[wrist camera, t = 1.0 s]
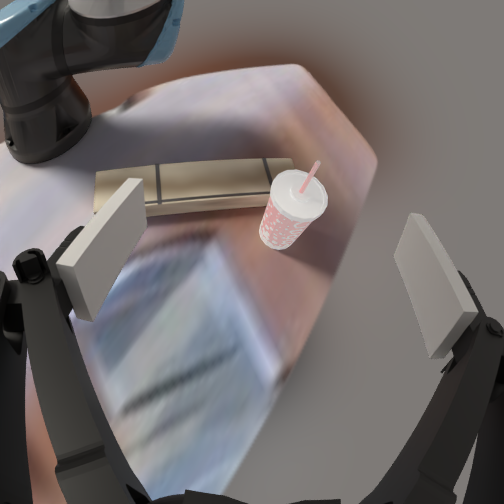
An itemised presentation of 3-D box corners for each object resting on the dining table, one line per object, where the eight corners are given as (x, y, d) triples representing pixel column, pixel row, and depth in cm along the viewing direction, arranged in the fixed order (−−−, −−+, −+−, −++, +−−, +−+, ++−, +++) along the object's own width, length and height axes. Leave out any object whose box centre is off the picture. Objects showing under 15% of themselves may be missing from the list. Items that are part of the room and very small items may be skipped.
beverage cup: (254, 254, 38) (290, 186, 26) (251, 210, 41) (282, 133, 28) (302, 256, 39) (355, 193, 27) (297, 213, 42) (340, 142, 29)
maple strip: (99, 183, 38) (95, 171, 35) (286, 168, 45) (291, 157, 42) (97, 222, 35) (93, 211, 33) (297, 204, 42) (304, 193, 40)
